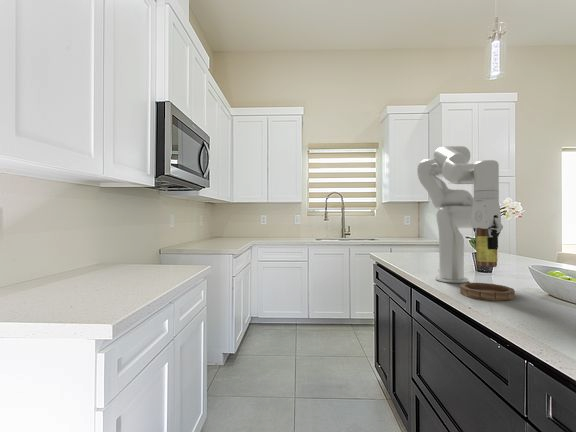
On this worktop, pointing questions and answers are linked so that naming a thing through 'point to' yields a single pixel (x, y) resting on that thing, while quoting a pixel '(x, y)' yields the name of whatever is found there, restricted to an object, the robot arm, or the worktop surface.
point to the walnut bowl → (487, 291)
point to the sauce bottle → (484, 249)
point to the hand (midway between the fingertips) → (486, 247)
